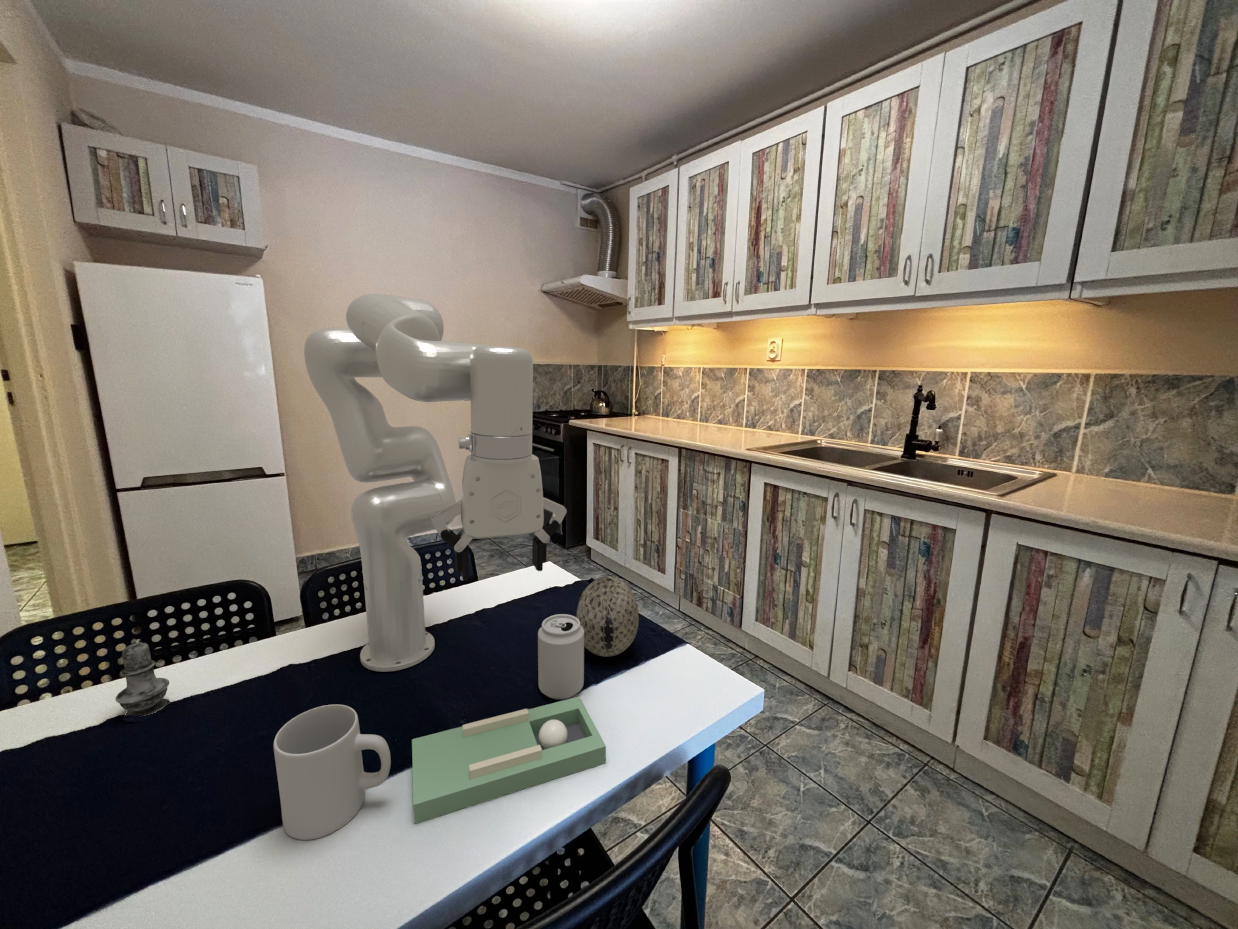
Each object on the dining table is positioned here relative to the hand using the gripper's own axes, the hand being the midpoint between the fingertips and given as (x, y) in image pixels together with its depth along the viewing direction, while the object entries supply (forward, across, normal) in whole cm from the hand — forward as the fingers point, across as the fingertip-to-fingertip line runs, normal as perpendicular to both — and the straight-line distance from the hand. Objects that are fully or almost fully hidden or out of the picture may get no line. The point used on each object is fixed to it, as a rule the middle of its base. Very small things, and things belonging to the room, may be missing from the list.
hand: (502, 571), depth 66 cm
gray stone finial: (+28, -49, +25) cm, 61 cm away
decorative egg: (+26, +22, +14) cm, 37 cm away
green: (+25, 0, -5) cm, 26 cm away
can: (+26, +11, +7) cm, 29 cm away
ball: (+23, +6, -6) cm, 25 cm away
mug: (+26, -20, -5) cm, 33 cm away
